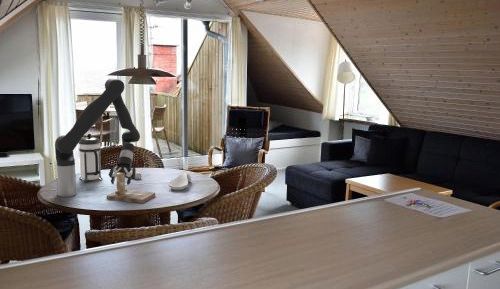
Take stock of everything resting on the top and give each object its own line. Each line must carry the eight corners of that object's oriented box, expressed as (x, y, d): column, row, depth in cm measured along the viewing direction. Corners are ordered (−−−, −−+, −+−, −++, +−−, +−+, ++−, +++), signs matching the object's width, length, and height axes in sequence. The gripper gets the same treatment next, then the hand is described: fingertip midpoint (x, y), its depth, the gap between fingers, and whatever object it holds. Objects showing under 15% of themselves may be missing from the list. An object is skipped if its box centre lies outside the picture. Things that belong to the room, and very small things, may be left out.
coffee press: (72, 182, 258) (70, 134, 253) (86, 176, 273) (85, 131, 268) (98, 184, 255) (96, 136, 250) (111, 178, 270) (109, 132, 265)
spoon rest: (184, 192, 244) (184, 180, 242) (165, 191, 246) (165, 179, 244) (196, 182, 267) (196, 171, 265) (178, 181, 269) (178, 170, 267)
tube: (144, 173, 272) (121, 166, 286) (137, 171, 267) (114, 165, 282) (142, 180, 271) (119, 174, 286) (135, 179, 267) (112, 173, 282)
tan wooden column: (115, 193, 230) (114, 174, 229) (118, 191, 235) (117, 172, 234) (124, 193, 231) (123, 174, 229) (126, 191, 235) (126, 172, 234)
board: (106, 199, 227) (106, 195, 226) (120, 192, 240) (120, 188, 240) (142, 203, 221) (142, 199, 221) (155, 196, 235) (155, 192, 234)
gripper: (111, 155, 237) (105, 180, 228) (136, 156, 237) (131, 180, 228) (114, 162, 243) (109, 186, 234) (139, 163, 243) (134, 187, 234)
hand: (120, 183), depth 231 cm, fingers open, 8 cm apart
